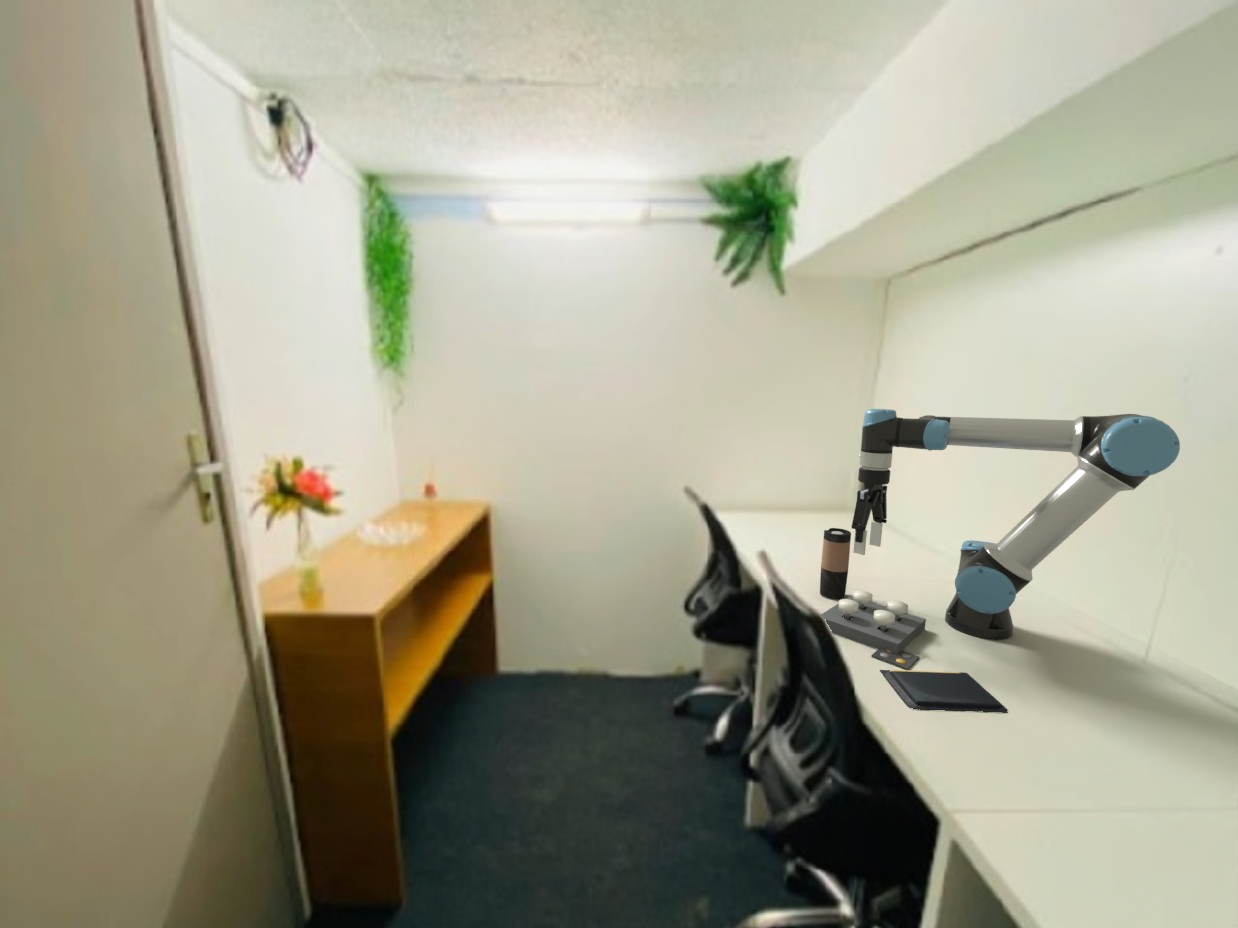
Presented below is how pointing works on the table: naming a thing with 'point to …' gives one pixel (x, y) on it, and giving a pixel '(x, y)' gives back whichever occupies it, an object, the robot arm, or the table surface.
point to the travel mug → (835, 563)
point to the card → (896, 658)
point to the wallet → (941, 691)
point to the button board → (875, 627)
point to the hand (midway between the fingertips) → (867, 549)
